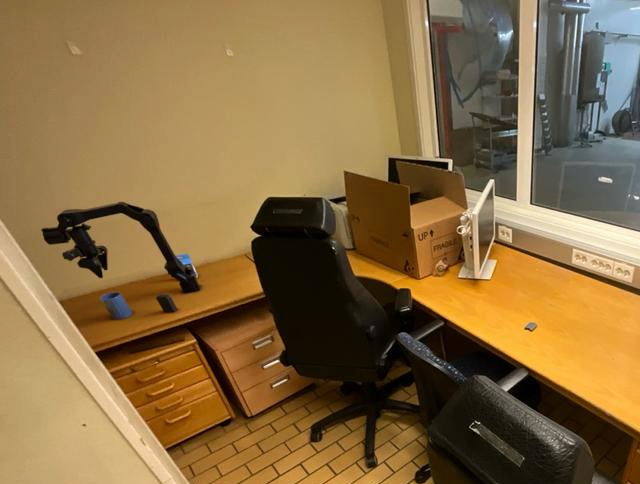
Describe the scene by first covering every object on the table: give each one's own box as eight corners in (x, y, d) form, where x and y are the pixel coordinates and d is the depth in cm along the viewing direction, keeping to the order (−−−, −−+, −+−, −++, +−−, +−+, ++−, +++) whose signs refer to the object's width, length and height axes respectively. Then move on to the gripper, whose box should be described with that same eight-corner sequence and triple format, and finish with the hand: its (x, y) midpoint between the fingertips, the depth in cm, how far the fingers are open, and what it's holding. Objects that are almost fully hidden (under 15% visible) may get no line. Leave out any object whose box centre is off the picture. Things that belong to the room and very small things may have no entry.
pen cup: (133, 310, 180) (121, 290, 174) (130, 317, 175) (118, 297, 169) (114, 313, 177) (101, 294, 171) (110, 320, 172) (97, 301, 166)
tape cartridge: (177, 281, 203) (166, 259, 196) (178, 278, 206) (167, 256, 199) (197, 277, 207) (187, 256, 200) (198, 275, 210) (188, 253, 203)
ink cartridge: (178, 309, 180) (169, 294, 176) (174, 312, 179) (166, 297, 174) (167, 309, 180) (159, 294, 176) (163, 312, 179) (155, 296, 174)
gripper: (65, 236, 171) (86, 269, 180) (50, 251, 158) (74, 286, 167) (97, 232, 175) (116, 265, 184) (86, 246, 162) (107, 280, 171)
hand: (103, 273), depth 177 cm, fingers open, 9 cm apart
